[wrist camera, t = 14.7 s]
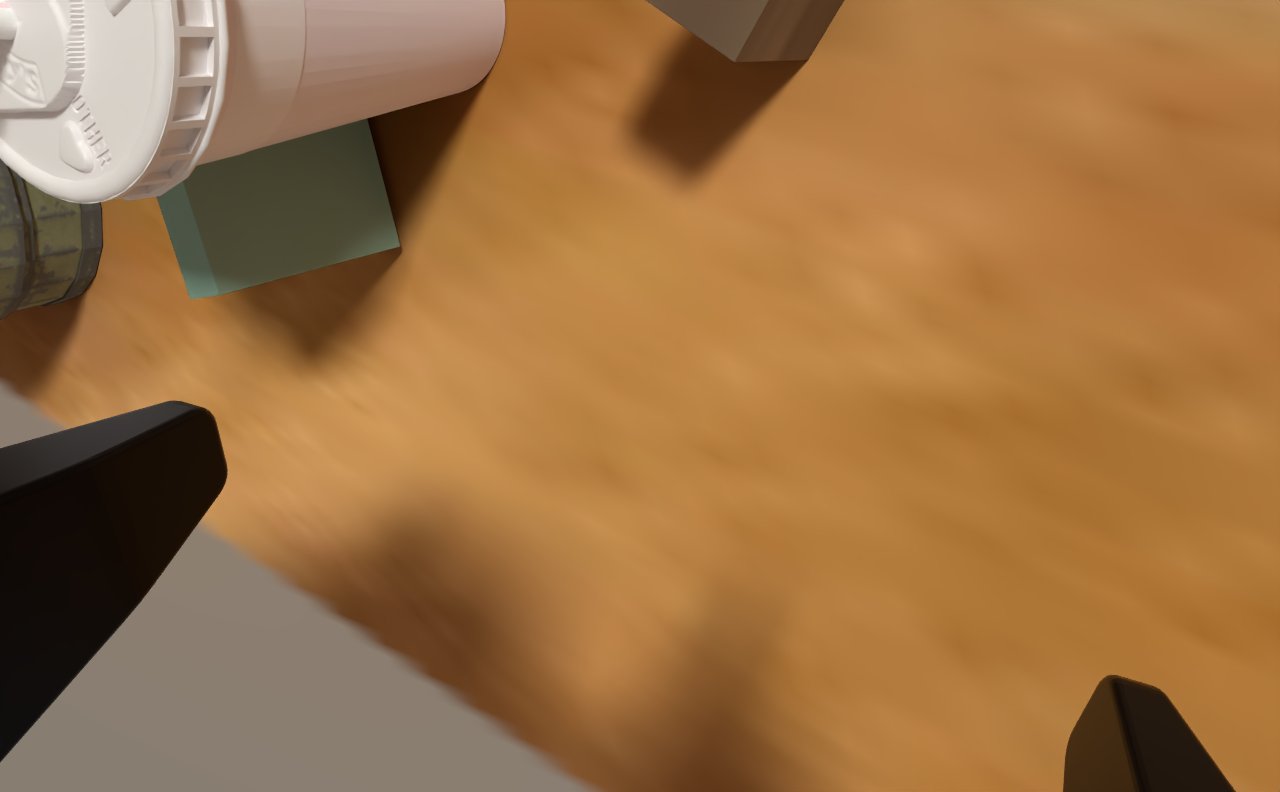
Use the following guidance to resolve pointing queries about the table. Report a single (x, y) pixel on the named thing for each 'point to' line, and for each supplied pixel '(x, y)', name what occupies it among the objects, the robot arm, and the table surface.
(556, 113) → the table surface
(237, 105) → the smoothie
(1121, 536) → the table surface
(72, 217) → the thermos
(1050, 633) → the table surface
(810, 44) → the brown block
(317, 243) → the green block
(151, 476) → the robot arm
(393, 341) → the table surface
